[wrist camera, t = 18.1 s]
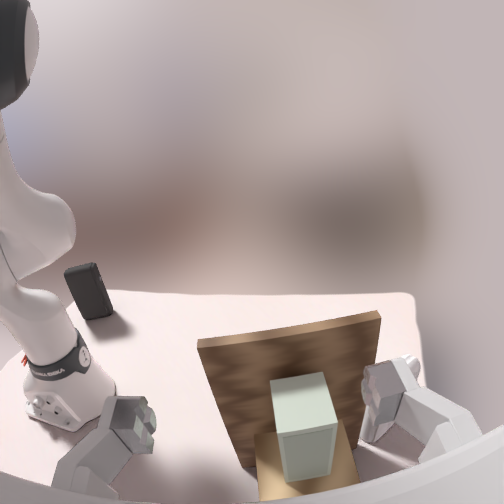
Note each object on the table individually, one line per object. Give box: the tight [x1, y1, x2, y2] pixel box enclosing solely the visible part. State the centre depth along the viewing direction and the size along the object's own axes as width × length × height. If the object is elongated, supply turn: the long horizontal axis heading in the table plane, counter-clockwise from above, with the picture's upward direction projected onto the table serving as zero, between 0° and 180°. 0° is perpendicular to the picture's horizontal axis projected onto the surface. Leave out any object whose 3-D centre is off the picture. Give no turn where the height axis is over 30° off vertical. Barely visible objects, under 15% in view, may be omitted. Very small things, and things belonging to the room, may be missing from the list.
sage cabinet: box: [270, 372, 338, 483], centre depth 28 cm, size 5×6×12 cm
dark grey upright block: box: [64, 263, 113, 320], centre depth 77 cm, size 9×4×15 cm, turn 103°
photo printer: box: [359, 354, 420, 442], centre depth 40 cm, size 10×4×12 cm, turn 126°
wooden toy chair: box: [197, 310, 381, 501], centre depth 30 cm, size 17×11×26 cm, turn 94°
